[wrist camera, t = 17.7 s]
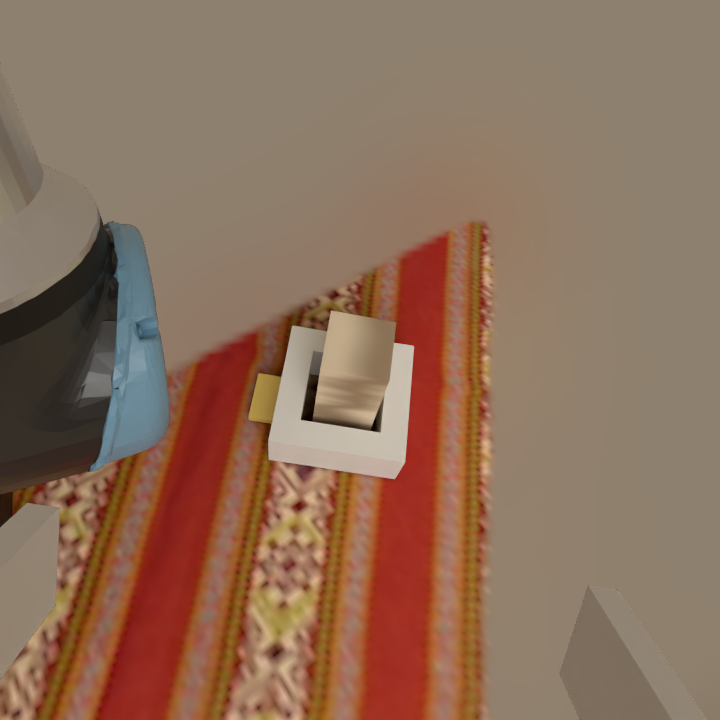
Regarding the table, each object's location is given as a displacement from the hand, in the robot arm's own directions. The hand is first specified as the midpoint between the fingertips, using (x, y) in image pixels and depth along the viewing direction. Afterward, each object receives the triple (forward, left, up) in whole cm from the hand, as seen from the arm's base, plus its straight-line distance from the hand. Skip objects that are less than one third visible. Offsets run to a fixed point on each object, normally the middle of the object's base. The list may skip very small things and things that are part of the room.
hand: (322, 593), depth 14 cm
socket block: (0, +18, -28) cm, 33 cm away
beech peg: (+1, +18, -28) cm, 33 cm away
